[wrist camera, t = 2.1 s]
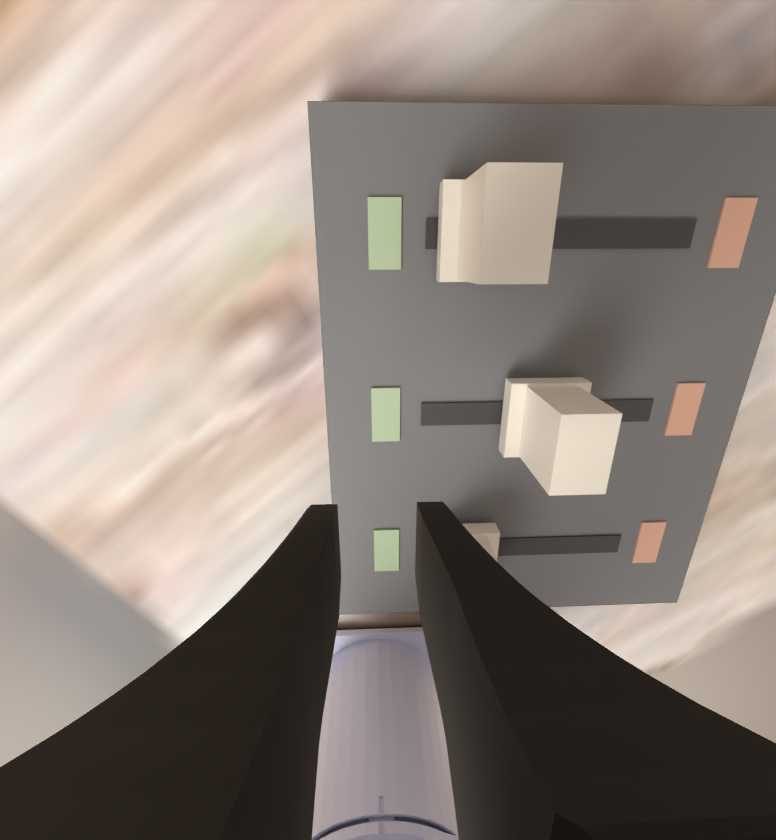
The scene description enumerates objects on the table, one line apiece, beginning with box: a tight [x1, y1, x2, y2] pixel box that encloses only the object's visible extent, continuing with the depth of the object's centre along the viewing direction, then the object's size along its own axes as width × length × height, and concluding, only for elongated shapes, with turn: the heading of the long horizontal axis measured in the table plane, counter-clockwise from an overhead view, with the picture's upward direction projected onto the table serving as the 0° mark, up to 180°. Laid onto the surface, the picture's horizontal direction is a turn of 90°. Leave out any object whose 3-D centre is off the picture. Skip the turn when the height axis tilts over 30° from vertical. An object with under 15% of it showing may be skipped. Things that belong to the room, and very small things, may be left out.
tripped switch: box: [499, 377, 622, 496], centre depth 16 cm, size 3×3×4 cm
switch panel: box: [308, 101, 776, 615], centre depth 19 cm, size 22×18×2 cm
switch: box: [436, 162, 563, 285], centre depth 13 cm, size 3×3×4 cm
